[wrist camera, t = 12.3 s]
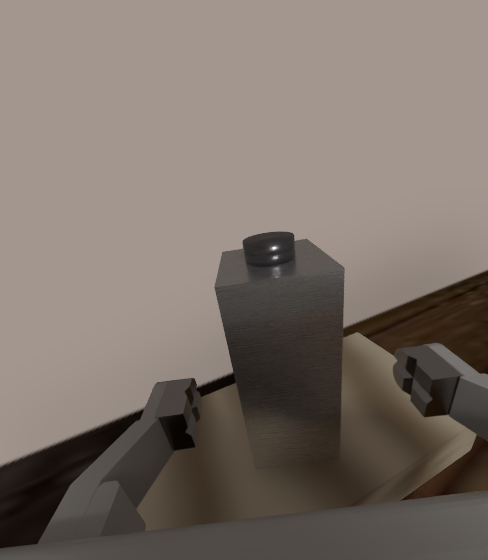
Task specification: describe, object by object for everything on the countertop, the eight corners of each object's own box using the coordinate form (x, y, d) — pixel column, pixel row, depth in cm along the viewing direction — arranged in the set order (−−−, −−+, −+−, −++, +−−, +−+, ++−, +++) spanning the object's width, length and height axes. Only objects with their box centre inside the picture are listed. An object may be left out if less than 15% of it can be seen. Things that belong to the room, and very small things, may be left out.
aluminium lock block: (255, 469, 13) (209, 262, 8) (250, 396, 18) (219, 235, 13) (339, 458, 13) (344, 241, 8) (313, 388, 18) (306, 221, 13)
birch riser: (131, 693, 10) (98, 673, 8) (142, 455, 18) (127, 427, 17) (470, 450, 15) (484, 415, 14) (356, 358, 24) (357, 332, 23)
